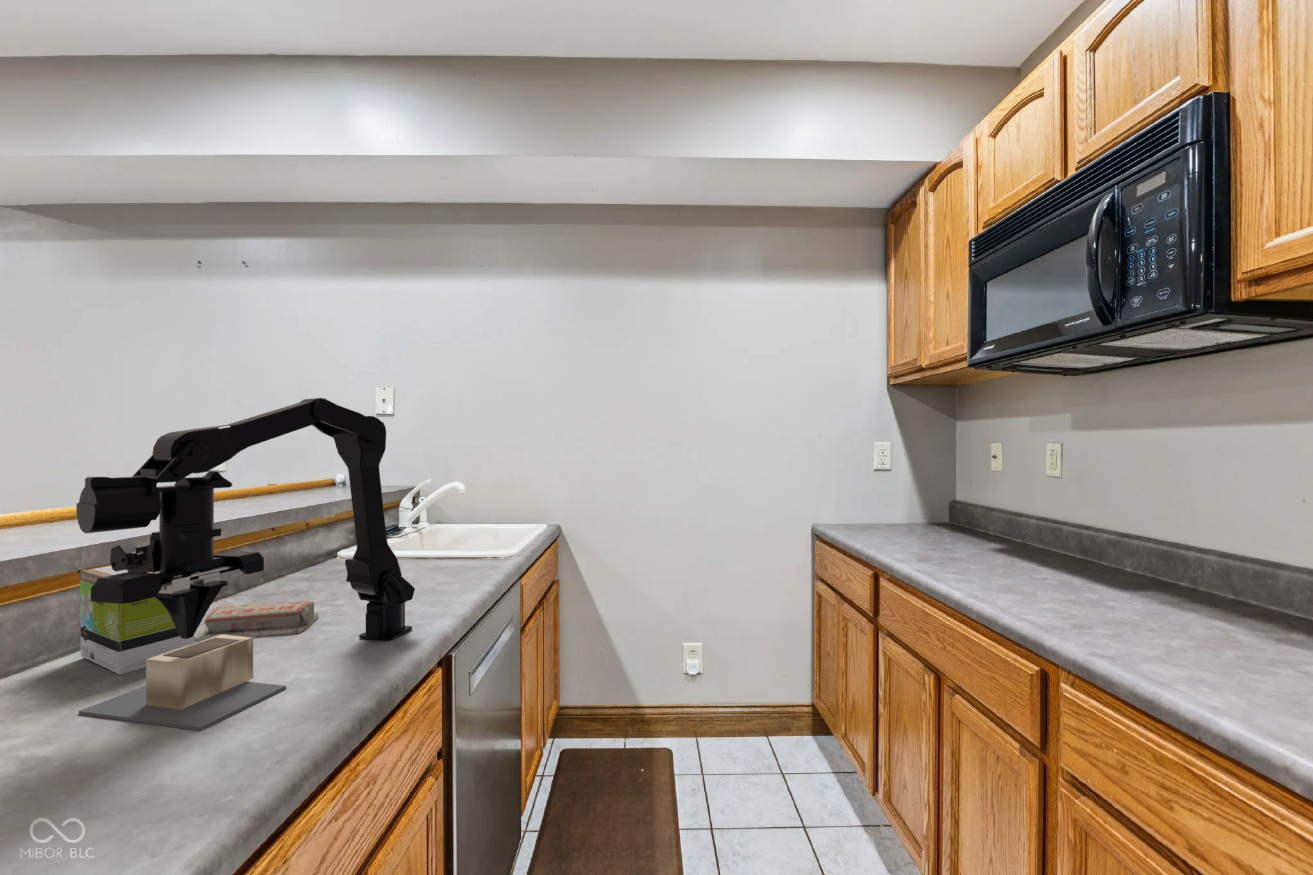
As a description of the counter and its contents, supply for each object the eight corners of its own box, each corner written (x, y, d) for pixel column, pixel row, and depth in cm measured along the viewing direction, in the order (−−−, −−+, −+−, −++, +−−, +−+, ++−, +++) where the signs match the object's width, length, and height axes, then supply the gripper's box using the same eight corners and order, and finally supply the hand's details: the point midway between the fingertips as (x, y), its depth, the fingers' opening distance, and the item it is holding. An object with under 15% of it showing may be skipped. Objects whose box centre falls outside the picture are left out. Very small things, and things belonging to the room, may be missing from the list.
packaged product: (320, 595, 114) (300, 610, 104) (320, 619, 114) (300, 636, 104) (217, 601, 110) (187, 617, 100) (217, 626, 110) (187, 644, 100)
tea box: (77, 659, 92) (77, 568, 92) (154, 640, 101) (154, 557, 101) (117, 676, 85) (117, 578, 85) (196, 654, 94) (196, 565, 94)
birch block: (221, 633, 84) (146, 658, 75) (253, 636, 83) (180, 662, 73) (221, 674, 84) (146, 704, 75) (253, 678, 83) (180, 709, 73)
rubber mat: (176, 676, 85) (176, 673, 85) (286, 688, 80) (286, 685, 80) (78, 713, 73) (78, 710, 73) (200, 730, 68) (200, 727, 68)
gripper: (208, 513, 88) (208, 614, 88) (57, 531, 70) (56, 658, 69) (267, 515, 85) (267, 618, 85) (126, 534, 67) (125, 666, 67)
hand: (187, 637), depth 77 cm, fingers closed
